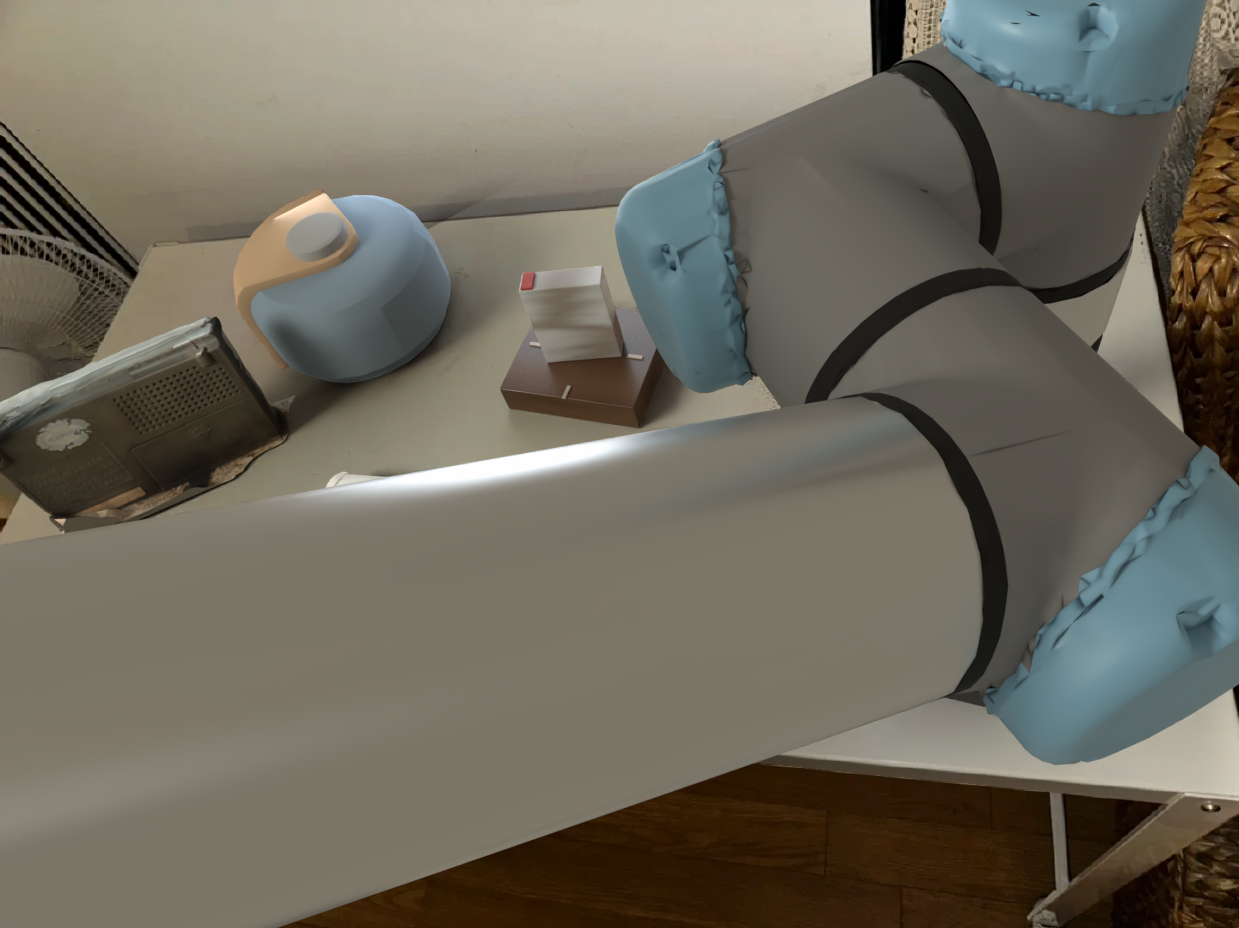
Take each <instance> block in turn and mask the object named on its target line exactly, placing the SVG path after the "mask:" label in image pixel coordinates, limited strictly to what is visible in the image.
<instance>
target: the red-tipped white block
mask: <svg viewBox="0 0 1239 928" xmlns="http://www.w3.org/2000/svg"><path fill="white" fill-rule="evenodd" d="M518 295H519V296H520V299H521V301H522V304H523V306H524V309H525V311H526V314H527V316H528V319H529V322H530V324H532V326H533V329H534V331H535V334H536V336H537V339H538V341H539V344H540V346H541V349H542V351H543V354H544V356H545V359H546V361H547V363H549V362H561V361H574V360H586V359H598V358H610V357H621V356H622V351H623V340H624V338H623V335H622V331H621V328H620V324H619V321H618V318H617V314H616V311H615V309H616V307H615V303H614V301H613V297H612V294H611V289H610V287H609V284H608V281H607V276H606V273H605V269H604V266H603V265H595V266H586V267H577V268H576V267H575V268H567V269H566V268H565V269H558V270H549V271H548V270H547V271H537V272H535V271H527V272H526V271H525V272H522V274H521V277H520V283H519V289H518Z"/></svg>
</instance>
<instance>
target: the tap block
mask: <svg viewBox="0 0 1239 928" xmlns="http://www.w3.org/2000/svg"><path fill="white" fill-rule="evenodd" d="M615 311H616V314H617V318H618V321H619V324H620V328H621V331H622V335H623V338H624V340H623V351H622V356H621V357H610V358H598V359H586V360H574V361H561V362H549V363H547V361H546V359H545V356H544V354H543V351H542V349H541V346H540V344H539V341H538V339H537V336H536V334H535V331H534V329H533V326H532V324H531V323H530V324H531V325H530V327H529V328H528V331H527V333H526V334H525V336H524V338H523V341H522V343H521V345H520V346H519V349H518V350H517V353H516V355H515V356H514V359H513V360H512V363H511V365H510V367H509V369H508V371H507V373H506V375H505V377H504V379H503V381H502V383H501V385H500V387H499V390H500V392H501V395H502V397H503V398H504V401H505V403H506V405H507V407H508V409H509V410H515V411H521V412H522V411H523V412H529V413H536V414H542V415H549V416H554V417H555V416H556V417H562V418H568V419H574V420H580V421H581V420H582V421H587V422H594V423H602V424H607V425H615V426H620V427H627V428H634V429H640V428H641V426H642V423H643V421H644V418H645V415H646V413H647V411H648V408H649V405H650V402H651V399H652V397H653V395H654V392H655V389H656V387H657V385H658V382H659V379H660V377H661V374H662V372H663V369H664V367H665V364H666V363H665V361H664V360H663V358H662V356H661V355H660V353H659V351H658V349H657V347H656V345H655V344H654V342H653V340H652V338H651V336H650V334H649V332H648V330H647V328H646V326H645V324H644V321H643V319H642V317H641V315H640V313H639V310H632V309H622V308H615Z"/></svg>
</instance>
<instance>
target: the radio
mask: <svg viewBox="0 0 1239 928" xmlns="http://www.w3.org/2000/svg"><path fill="white" fill-rule="evenodd" d="M295 397H296V394H295V395H293V396H290V397H287V398H284V399H282V400H279V401H275V402H269V400H268V399H267V397H266V395H265V394H264V392H263V390H262V388H261V387H260V385H259V384H258V382H257V381H256V380H255V379H254V377H253V375H252V374H251V372H250V371H249V370H248V368H247V367H246V366H245V363H244V362H243V360H242V358H241V356H240V355H239V352H238V351H237V350H236V348H235V346H234V345H233V344H232V341H230V339H229V337H228V336H227V334H226V333H225V332H224V330H223V324H222V322H221V320H220V318H219V317H217V316H213V317H209V316H204V317H203V318H200V319H198V320H196V321H194V322H191V323H187V324H185V325H181V326H178V327H176V328H173V329H170V330H169V331H166V332H165V333H162V334H159V335H156V336H154V337H151V338H149V339H147V340H145V341H142V342H139V343H136V344H135V345H132V346H128V347H126V348H125V349H122V350H119V351H118V352H115V353H113V354H111V355H108V356H106V357H104V358H102V359H100V360H98V361H92V362H89V363H88V364H86V365H85V366H84V367H81V368H79V369H77V370H75V371H72V372H70V373H67V374H64V375H61V376H59V377H56V378H53V379H51V380H45V381H42V382H39V383H37V384H35V385H33V386H30V387H27V388H25V389H23V390H22V391H19V392H18V393H16V394H13V395H11V396H10V397H8V398H6V399H4V400H2V401H0V475H1V476H2V477H4V478H5V479H6V481H8V482H9V483H10V484H12V485H13V487H14V488H15V489H16V490H18V491H19V492H20V493H22V494H23V495H24V496H25V497H26V498H27V499H29V500H30V501H31V502H32V503H33V504H35V505H36V506H37V507H38V508H40V509H41V510H43V512H44V513H47V514H49V516H48V519H49V521H50V522H51V523H52V524H53V525H54V526H55V527H56V528H57V529H58V530H59V532H60V534H64V533H69V532H75V531H81V530H87V529H92V528H98V527H104V526H109V525H115V524H121V523H127V522H132V521H138V520H142V519H143V518H145V517H147V516H150V515H152V514H155V513H157V512H159V511H162V510H164V509H166V508H168V507H171V506H173V505H175V504H178V503H180V502H182V501H185V500H187V499H189V498H191V497H194V496H196V495H198V494H201V493H203V492H206V491H208V490H210V489H212V488H215V487H217V486H219V485H221V484H225V483H228V482H230V481H231V480H233V479H235V477H236V475H239V474H240V473H243V472H244V470H245V468H246V467H247V466H248V464H249V463H251V462H252V461H253V460H254V459H255V458H257V457H258V456H259V455H261V454H262V453H264V452H266V451H268V450H271V449H272V448H275V447H277V446H278V445H281V444H282V443H283V442H285V440H286V439H287V436H288V435H289V432H290V425H289V418H290V416H291V411H290V410H291V409H290V408H291V405H292V404H293V402H294V401H295Z"/></svg>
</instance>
